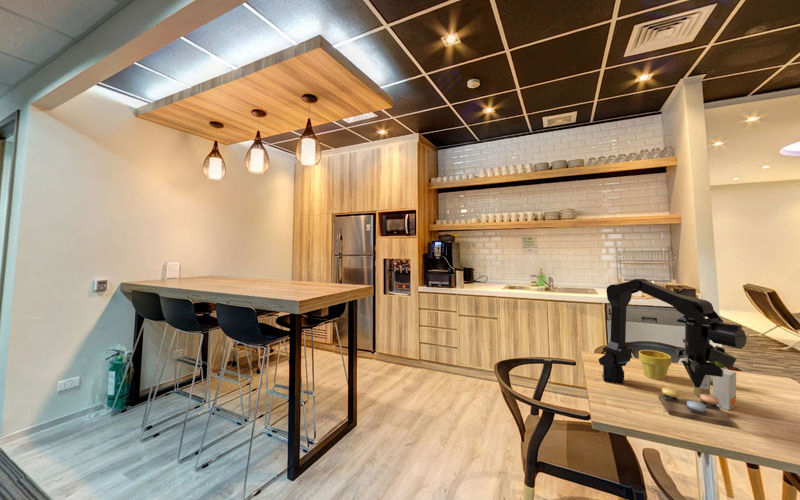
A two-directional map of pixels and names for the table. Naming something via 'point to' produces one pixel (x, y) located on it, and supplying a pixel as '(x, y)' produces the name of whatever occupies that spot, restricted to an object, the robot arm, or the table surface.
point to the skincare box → (725, 389)
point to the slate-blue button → (696, 406)
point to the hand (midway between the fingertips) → (696, 387)
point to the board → (694, 411)
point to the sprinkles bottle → (703, 386)
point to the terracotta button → (709, 399)
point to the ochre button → (670, 392)
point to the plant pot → (655, 364)
